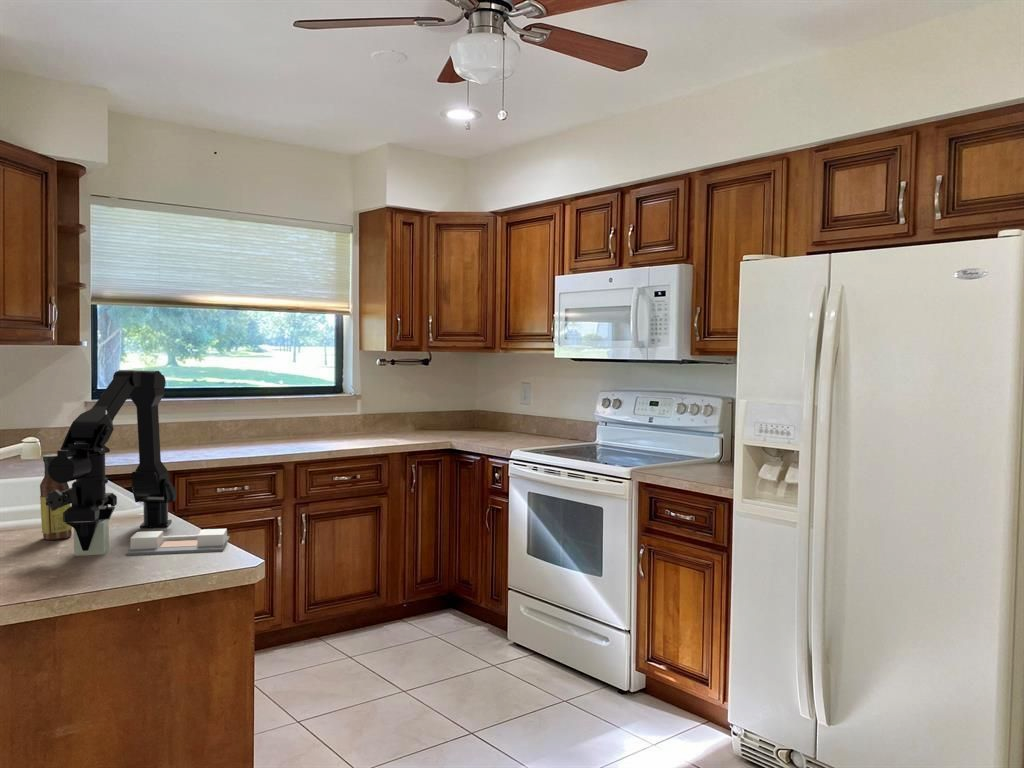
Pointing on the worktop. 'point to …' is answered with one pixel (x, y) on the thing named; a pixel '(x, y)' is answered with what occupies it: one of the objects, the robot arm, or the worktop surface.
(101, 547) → the block
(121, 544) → the worktop surface
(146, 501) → the robot arm
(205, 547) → the rail board
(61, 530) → the sauce bottle
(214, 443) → the worktop surface
